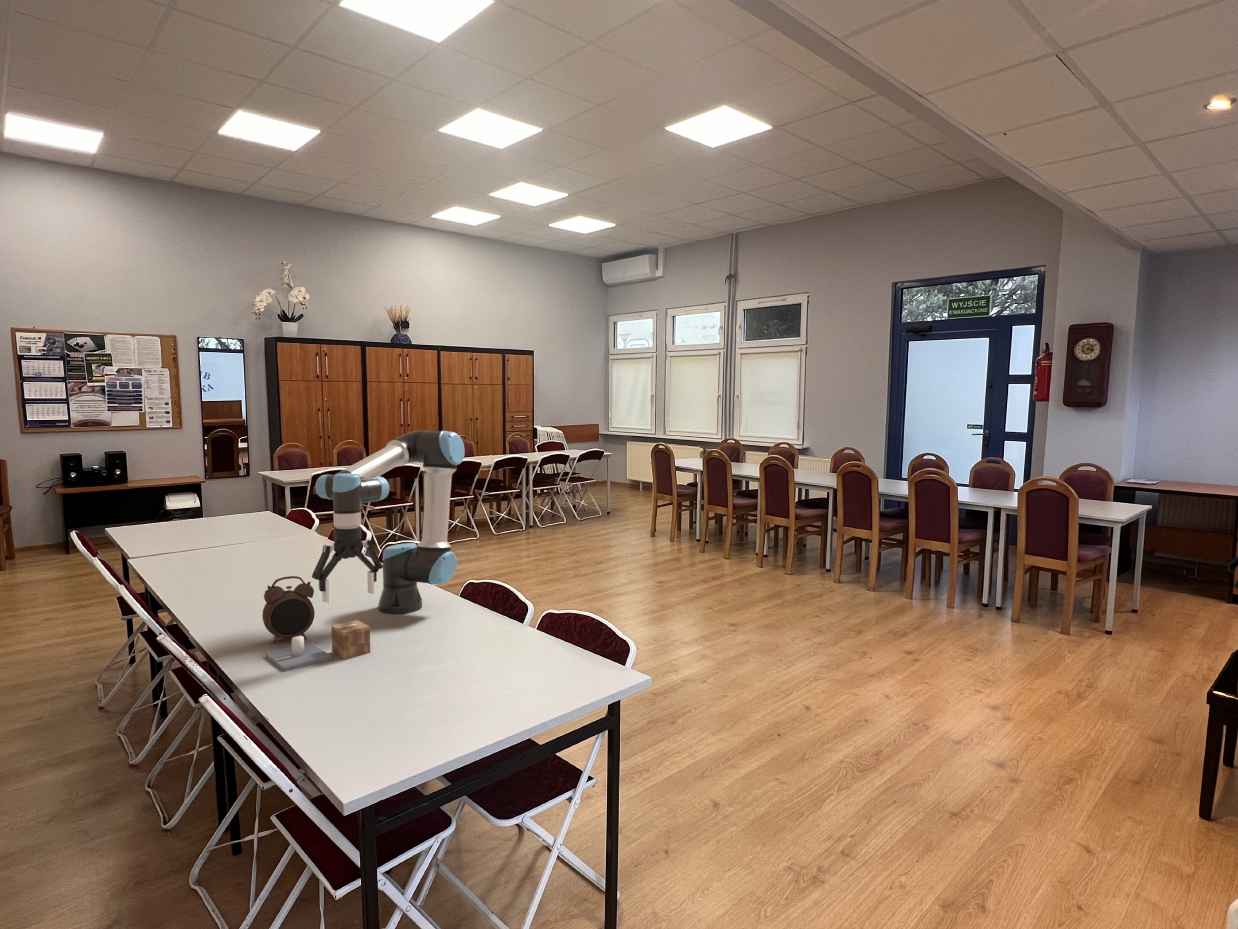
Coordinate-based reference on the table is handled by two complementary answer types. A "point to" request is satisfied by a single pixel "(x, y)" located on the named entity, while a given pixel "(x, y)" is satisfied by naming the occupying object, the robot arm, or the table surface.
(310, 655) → the plate
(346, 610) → the table surface
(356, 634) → the tan drawer box
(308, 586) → the alarm clock
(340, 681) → the table surface
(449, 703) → the table surface
